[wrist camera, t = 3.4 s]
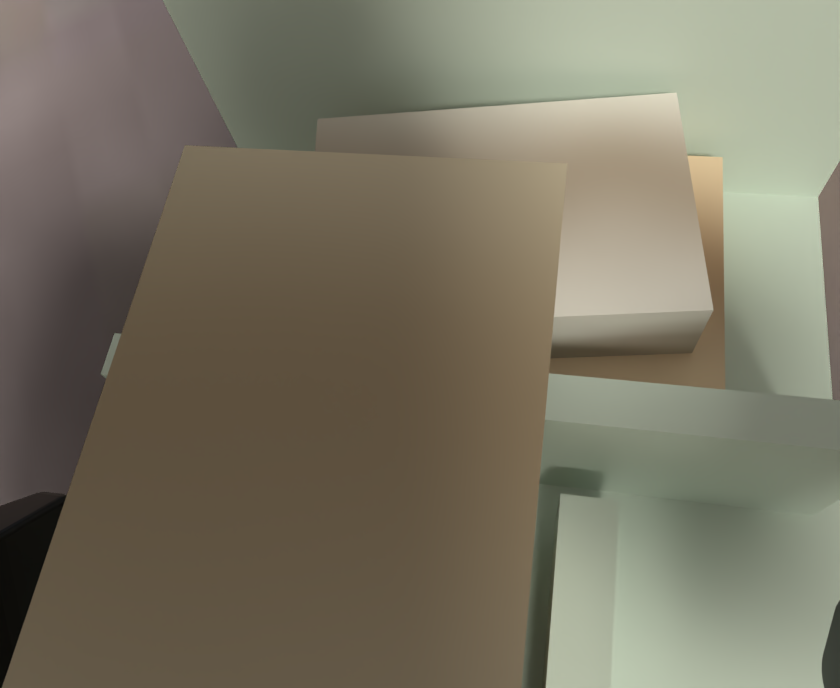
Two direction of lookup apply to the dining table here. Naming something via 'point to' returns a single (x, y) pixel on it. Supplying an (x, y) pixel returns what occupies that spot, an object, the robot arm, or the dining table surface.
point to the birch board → (314, 434)
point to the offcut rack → (620, 399)
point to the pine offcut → (710, 349)
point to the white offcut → (584, 208)
